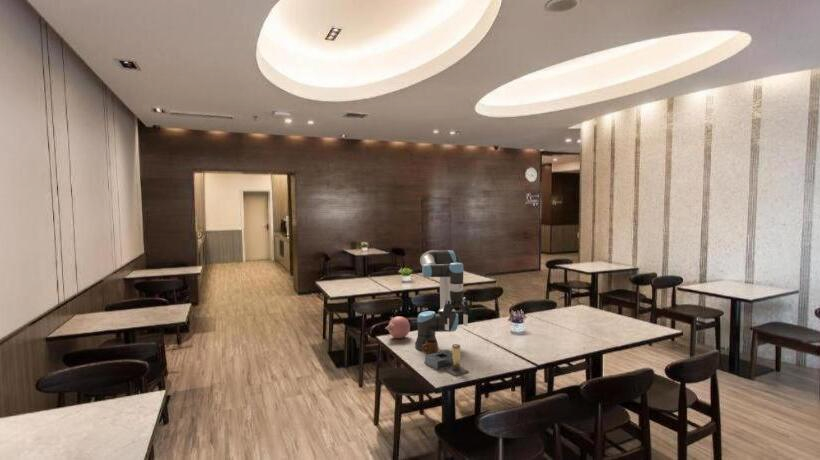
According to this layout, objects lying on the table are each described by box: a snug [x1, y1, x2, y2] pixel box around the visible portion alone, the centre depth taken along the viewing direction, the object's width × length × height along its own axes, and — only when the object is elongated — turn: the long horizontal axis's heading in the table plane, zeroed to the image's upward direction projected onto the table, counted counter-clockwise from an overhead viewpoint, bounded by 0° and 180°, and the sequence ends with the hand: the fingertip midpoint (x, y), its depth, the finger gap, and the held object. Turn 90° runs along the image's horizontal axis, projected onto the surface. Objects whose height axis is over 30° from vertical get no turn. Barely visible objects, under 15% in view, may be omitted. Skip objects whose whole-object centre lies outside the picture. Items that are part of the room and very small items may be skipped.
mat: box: [443, 366, 470, 377], centre depth 226 cm, size 10×10×1 cm
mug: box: [421, 339, 439, 356], centre depth 248 cm, size 12×8×9 cm, turn 133°
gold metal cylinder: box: [451, 343, 461, 372], centre depth 226 cm, size 4×4×14 cm
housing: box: [424, 349, 452, 371], centre depth 237 cm, size 12×16×5 cm
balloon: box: [384, 315, 411, 340], centre depth 283 cm, size 15×20×15 cm
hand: (456, 327), depth 226 cm, fingers open, 13 cm apart
